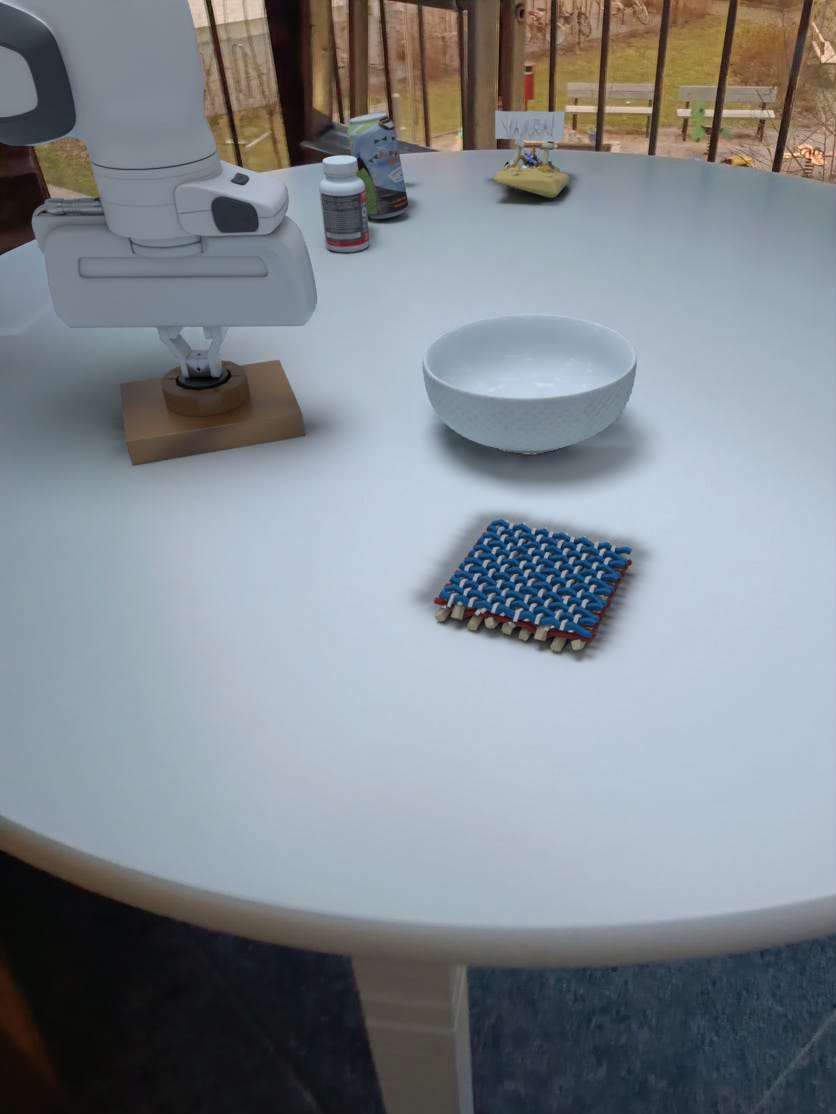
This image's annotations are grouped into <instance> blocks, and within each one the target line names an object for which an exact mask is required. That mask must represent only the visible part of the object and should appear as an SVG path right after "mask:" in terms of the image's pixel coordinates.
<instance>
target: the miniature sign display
mask: <svg viewBox="0 0 836 1114" xmlns="http://www.w3.org/2000/svg"><path fill="white" fill-rule="evenodd" d="M494 113H495V116H494V117H495V118H494V123H495V125H494V126H495V127H494V129H495V130H494V132H495V133H494V135H495V136H494V137H495V138H494V139H495V140H496V139H497V140H498V139H499V140H501V139H502V140H510V139H513V140H515V141H514V145H515V151H514V154H513V158H511V159H510V162H509V161H506V162H505V164H504V165H503V168H502V170H498V172H496V173H495V174H494V177H493V178H494V181H495V182H496V183H498V184H502V185H505V186H508V187H511V189H514V188H515V189H514V190H517V189H518V190H521V191H526V192H529V193H532V194H534V195H535V194H536V195H539V196H542V197H545V198H549V199H553V198H556V197H557V196H558V195H559V194H560V192H561V191H562V190H563V189H564V188H565V187H566V186H567V184H568V183H569V182H570V176H569V175H568V174H567V173H564V172H563V171H561V170H560V167H558V166H555V164H553V162H552V160H549V157H550V150H553V148H554V143H558V142H559V143H562V142H563V143H564V142H565V141H564V140H565V115H566V114H565V113H566V111H564V110H559V111H545V110H543V111H537V110H527V111H510V110H508V111H506V110H505V111H504V110H497V109H496V110H495V111H494ZM526 142H542V143H541V148H542V149H544V150H543V159H542V157H539V158H538V156H537V154H536V152H537V151H536V149H537V148H536V147H533V148H532V150H531V151H530V152H528V150H524V151H523V152H524V154H521V153H522V150H523V149H524V148H525V146H526ZM405 185H410V183H409V182H405Z"/></svg>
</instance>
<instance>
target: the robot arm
mask: <svg viewBox="0 0 836 1114" xmlns="http://www.w3.org/2000/svg"><path fill="white" fill-rule="evenodd" d="M203 67H204V66H203V61H202V55H201V52H200V46H199V41H198V37H197V32H196V27H195V22H194V18H193V15H192V10H191V7H190V3H189V0H0V143H1V144H4V145H7V146H12V147H22V146H24V147H36V146H45V145H47V144H50V143H53V142H55V141H58V140H59V141H60V140H61V139H64V138H74V139H78V140H79V141H81V142H82V143H83V145H85V147H86V149H87V152H88V157H89V161H90V165H91V169H92V173H93V176H94V177H93V178H94V180H95V185H96V188H97V191H98V195H99V197H97V196H96V197H78V198H73V199H71V198H70V199H69V198H66V199H65V198H63V197H53V198H52V197H51V198H47V199H45V200H44V203H43V204H41V205H39V206H38V207H37V208H35V209H34V211H33V214H32V216H31V227H32V231H33V234H34V237H35V240H36V243H37V246H38V248H39V250H40V252H41V253H42V254H43V255H44V262H45V264H44V265H45V270H46V277H47V281H48V288H49V292H50V297H51V301H52V305H53V309H54V312H55V315H56V316H57V317H58V318H59V319H60V320H61V321H62V322H63V323H64V324H66V326H68V327H69V328H72V329H86V328H87V329H94V328H95V329H96V328H97V329H100V328H101V329H102V328H103V329H104V328H105V329H106V328H107V329H108V328H115V329H116V328H156V330H157V334H158V338H159V341H160V342H161V343H162V344H163V345H164V346H165V347H166V348H167V349H168V350H169V352H170V353H171V354H172V355H173V356H174V358H176V359H177V360H178V362H179V366H180V367H181V371H182V375H183V377H184V378H198V377H202V378H219V377H220V375H221V373H222V362H221V361H222V359H221V358H222V357H221V353H220V351H221V350H222V347H223V344H224V342H225V339H226V336H227V334H228V332H229V328H231V327H233V328H235V327H237V328H239V327H242V328H243V327H250V328H251V327H303V326H305V325H307V323H308V322H309V321H310V320H311V318H312V317H313V315H314V313H315V311H316V308H317V305H318V290H317V284H316V279H315V275H314V269H313V265H312V261H311V260H312V259H311V256H310V253H309V249H308V246H307V243H306V239H305V237H304V234H303V232H302V230H301V229H300V227H299V225H298V224H297V223H296V222H295V220H293V219H292V218H291V217H289V216H288V215H286V214H287V212H288V209H289V205H290V195H289V189H288V187H287V184H286V183H285V182H284V181H282V180H281V179H279V178H276V177H273V176H270V175H266V174H265V173H261V172H257V171H254V170H251V169H247V168H245V167H242V166H240V165H239V166H238V165H235V164H233V163H230V162H227V161H224V160H222V159H220V155H219V150H218V145H217V141H216V138H215V136H214V134H213V131H212V129H211V126H210V124H209V121H208V119H207V115H206V111H205V102H204V101H205V98H204V97H205V96H204V95H205V86H206V84H205V81H206V80H205V73H204V68H203ZM45 211H46V213H44V212H45ZM184 328H202V329H203V334H204V338H205V339H206V340H212V341H211V344H210V346H209V349H193V348H191V346H190V345H189V344H188V343H187V341H186V339H184V337H183V336H182V335H181V332H182V331H183V329H184Z"/></svg>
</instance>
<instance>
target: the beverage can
mask: <svg viewBox="0 0 836 1114" xmlns="http://www.w3.org/2000/svg"><path fill="white" fill-rule="evenodd" d="M348 123H349V125H348V128H347V130H346V131H347V132H346V136H347V141H348V146H349V150H350V151H349V152H350V156H353V157H355V158H356V159H357V165H358V170H357V171H358V172H357V173H356V177H359V178H360V179H362V181H363V182H364V185H365V193H366V206H367V216H369V218H370V219H372V220H381V219H383V220H384V219H389V218H392V217H396V216H399V215H401V214H403V213H404V212H405V209H406V208H407V207H408V206H409V199H408V194H407V188H406V182H405V178H404V171H403V165H402V161H401V156H400V155H401V154H400V151H399V145H398V139H397V134H396V133H397V132H396V127H395V124H394V122H393V121H392V120H391V118H390V117H389V116H388V112H385V111H384V112H383V111H382V112H373V113H367V114H363V115H359V116H358V115H357V116H354V117H352V118H350V119H348Z"/></svg>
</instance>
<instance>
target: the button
mask: <svg viewBox="0 0 836 1114" xmlns="http://www.w3.org/2000/svg"><path fill="white" fill-rule="evenodd" d="M228 380H229V377H228V372H227V370H226V369H225V368H223V367H222V373H221V375H220V377H219V378H202V377H198V378H184V377H183V375H182V373H181V374H180V375H179V383H180V387H181V388H184V389H189V390H204V389H211V388H216V387H218V386H220V385H223V384H225V383H227V382H228Z"/></svg>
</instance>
